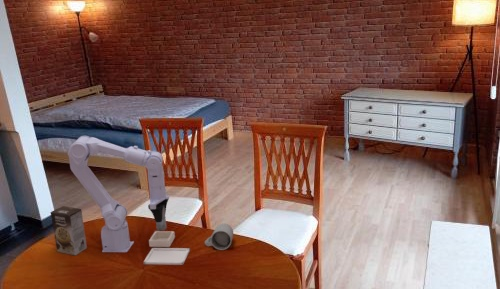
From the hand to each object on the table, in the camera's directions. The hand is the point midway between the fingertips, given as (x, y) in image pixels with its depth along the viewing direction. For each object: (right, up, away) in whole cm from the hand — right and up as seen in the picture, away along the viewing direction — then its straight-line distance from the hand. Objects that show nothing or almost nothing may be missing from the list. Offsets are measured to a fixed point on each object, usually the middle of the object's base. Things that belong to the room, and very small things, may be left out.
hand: (160, 219), depth 165 cm
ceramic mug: (+22, -10, 0) cm, 24 cm away
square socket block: (0, -10, +4) cm, 10 cm away
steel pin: (0, -3, +1) cm, 4 cm away
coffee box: (-33, -12, +2) cm, 35 cm away
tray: (+4, -12, -7) cm, 15 cm away
